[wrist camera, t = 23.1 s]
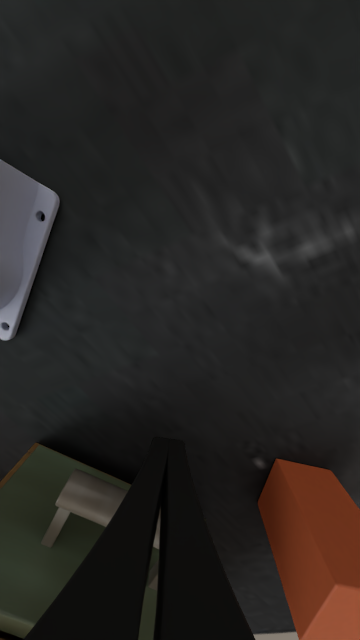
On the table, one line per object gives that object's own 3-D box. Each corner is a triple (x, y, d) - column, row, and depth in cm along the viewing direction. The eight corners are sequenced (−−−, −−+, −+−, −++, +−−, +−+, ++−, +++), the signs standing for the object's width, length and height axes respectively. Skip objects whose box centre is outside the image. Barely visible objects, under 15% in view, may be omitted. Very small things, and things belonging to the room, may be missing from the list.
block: (275, 457, 14) (337, 585, 8) (331, 469, 14) (430, 605, 8) (256, 502, 15) (299, 644, 9) (308, 513, 15) (383, 661, 9)
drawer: (60, 394, 13) (-59, 507, 6) (238, 477, 14) (279, 643, 7) (-7, 550, 16) (-124, 716, 10) (136, 606, 17) (108, 788, 11)
